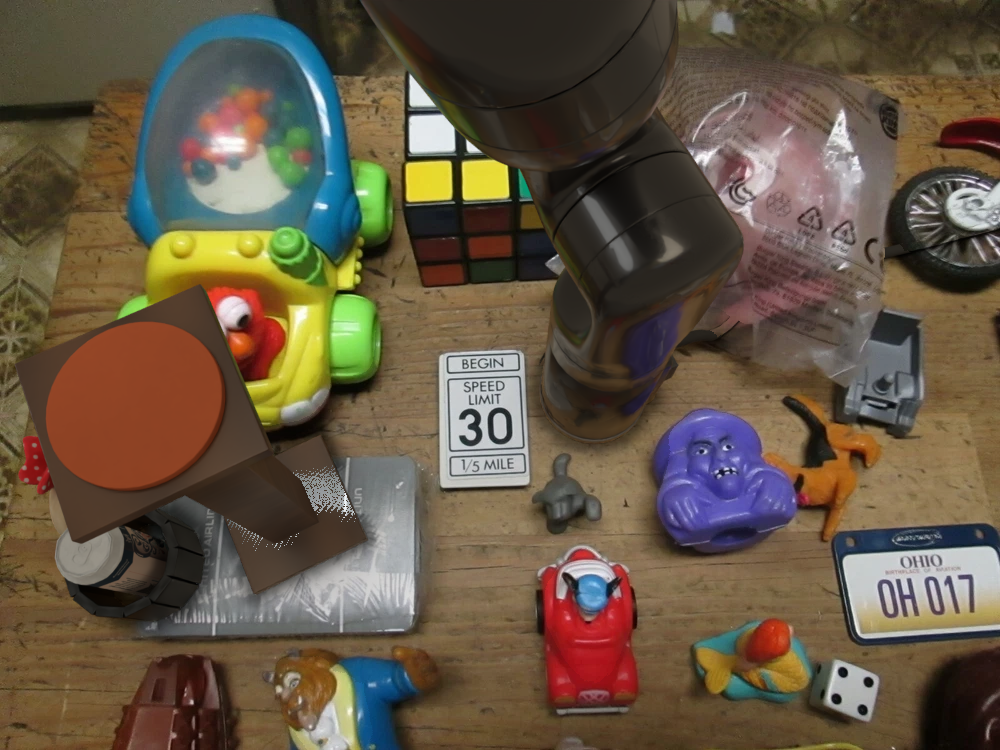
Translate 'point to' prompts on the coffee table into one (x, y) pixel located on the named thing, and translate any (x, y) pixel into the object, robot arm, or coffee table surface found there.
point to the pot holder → (135, 406)
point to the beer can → (114, 560)
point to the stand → (209, 464)
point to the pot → (169, 590)
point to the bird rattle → (41, 479)
